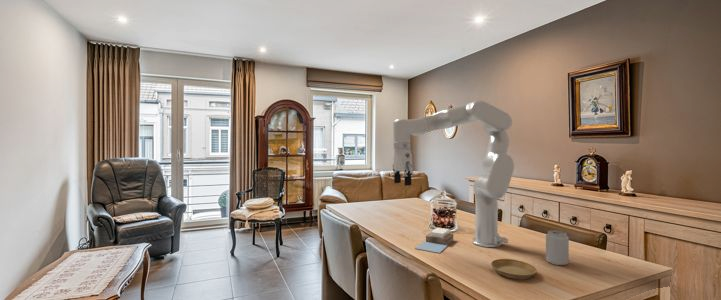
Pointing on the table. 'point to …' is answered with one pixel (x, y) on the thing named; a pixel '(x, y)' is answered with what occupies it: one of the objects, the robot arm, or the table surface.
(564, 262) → the can
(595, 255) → the table surface
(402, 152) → the robot arm
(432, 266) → the table surface
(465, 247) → the table surface
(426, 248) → the mat
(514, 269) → the plant saucer
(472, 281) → the table surface
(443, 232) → the tile
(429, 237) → the step
